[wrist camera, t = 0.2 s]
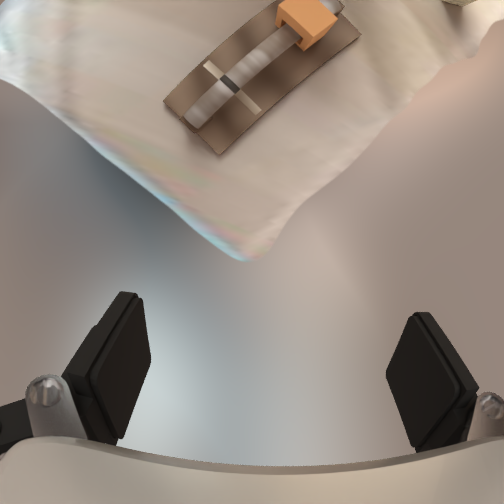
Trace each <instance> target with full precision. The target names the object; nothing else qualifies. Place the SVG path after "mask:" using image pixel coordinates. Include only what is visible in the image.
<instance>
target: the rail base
mask: <svg viewBox="0 0 504 504" xmlns="http://www.w3.org/2000/svg"><path fill="white" fill-rule="evenodd" d="M283 1H285V0H276V1H275V2H273V3H272V4H271V5H269V6H268V7H267V8H265V9H264V10H263V11H261V12H260V13H259V14H257V15H256V16H255V17H253V18H252V19H251V20H250V21H248V22H247V23H246V24H245V25H243V26H242V27H241V28H240V29H238V30H237V31H236V32H235V33H234V34H232V35H231V36H230V37H229V38H228V39H227V40H225V41H224V42H223V43H222V44H221V45H220V46H219V47H217V48H216V49H215V50H214V51H213V52H212V53H211V54H210V55H209V56H207V57H206V58H205V59H204V60H203V61H202V62H201V63H200V64H199V65H198V66H197V67H196V68H195V69H194V70H193V71H192V72H191V73H190V74H189V75H188V76H187V77H186V78H185V79H184V80H183V81H182V82H181V83H180V84H179V85H178V86H177V87H176V88H175V89H174V90H173V91H172V92H171V93H170V94H169V95H168V96H167V97H166V98H165V99H164V100H163V102H164V103H165V104H166V105H168V106H169V107H170V108H171V109H172V110H173V111H174V112H175V113H176V114H177V115H178V116H179V117H180V120H181V121H182V122H183V123H184V124H185V125H186V126H187V127H188V128H189V129H190V130H191V131H192V132H193V133H197V134H198V135H199V136H200V137H201V138H202V139H203V140H204V141H205V142H206V143H207V144H208V145H209V146H210V147H212V148H213V149H214V150H215V151H216V152H217V153H218V154H219V155H220V154H221V153H222V152H223V151H224V150H225V149H226V148H227V147H228V146H229V145H231V144H232V143H233V142H234V141H235V140H236V139H237V138H238V137H239V136H240V135H241V134H242V133H243V132H244V131H245V130H246V129H248V128H249V127H250V126H251V125H252V124H253V123H254V122H255V121H256V120H257V119H259V118H260V117H261V116H262V115H263V114H264V113H265V112H266V111H267V110H269V109H270V108H271V107H272V106H273V105H274V104H275V103H277V102H278V101H279V100H280V99H281V98H282V97H283V96H285V95H286V94H287V93H288V92H289V91H290V90H292V89H293V88H294V87H295V86H296V85H298V84H299V83H300V82H301V81H302V80H304V79H305V78H306V77H307V76H308V75H310V74H311V73H312V72H313V71H315V70H316V69H317V68H318V67H320V66H321V65H322V64H323V63H325V62H326V61H327V60H328V59H330V58H331V57H332V56H334V55H335V54H336V53H338V52H339V51H340V50H341V49H343V48H344V47H345V46H347V45H348V44H349V43H351V42H352V41H353V40H355V39H356V38H358V37H359V36H360V35H362V34H361V33H360V32H359V31H358V30H357V29H356V28H355V27H354V26H353V25H352V24H351V23H350V22H349V21H348V20H347V19H346V18H345V17H344V16H343V15H342V14H341V13H340V12H341V11H342V10H343V8H344V7H345V6H344V5H343V4H342V3H340V2H339V1H338V0H319V1H320V2H321V3H322V4H323V5H324V6H325V7H326V8H327V9H328V10H329V11H331V12H332V13H333V14H334V15H335V16H336V17H337V18H338V20H337V21H336V22H335V23H334V25H333V26H332V27H331V28H330V29H329V31H328V32H327V33H326V34H325V35H324V36H323V37H322V38H320V39H319V40H318V41H316V42H315V43H314V44H313V45H311V46H310V47H309V48H307V49H306V50H305V51H303V50H302V49H301V48H300V47H299V46H298V45H297V44H296V43H295V42H297V41H298V40H299V39H301V38H302V37H301V36H300V35H299V34H298V33H297V32H296V31H295V30H294V29H293V28H292V27H291V26H289V25H288V24H287V23H286V24H285V25H283V26H282V27H281V28H278V27H277V26H276V25H275V22H276V16H277V10H278V5H279V4H280V3H282V2H283Z"/></svg>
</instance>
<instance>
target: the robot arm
mask: <svg viewBox="0 0 504 504" xmlns="http://www.w3.org/2000/svg"><path fill="white" fill-rule="evenodd" d="M150 363H151V353H150V347H149V341H148V335H147V328H146V321H145V313H144V306H143V300H142V298H138V295H137V294H136V293H131V292H123V291H121V292H119V294H118V295H117V296H116V298H115V299H114V301H113V302H112V304H111V305H110V307H109V308H108V309H107V311H106V312H105V314H104V315H103V317H102V318H101V320H100V321H99V323H98V324H97V325H95V326H94V327H93V328H92V329H91V330H90V332H89V333H88V335H87V336H86V338H85V339H84V341H83V343H82V344H81V346H80V347H79V349H78V350H77V352H76V353H75V355H74V356H73V358H72V359H71V361H70V363H69V364H68V366H67V367H66V369H65V371H64V372H63V374H62V376H61V377H59V376H57V375H51V374H48V375H42V376H40V377H37V378H35V379H34V380H33V381H31V383H30V384H29V385H28V387H27V389H26V393H25V399H22V400H19V401H16V402H13V403H10V404H7V405H4V406H1V407H0V504H504V400H503V399H502V398H501V397H500V396H499V395H497V394H495V393H492V392H483V393H481V394H480V395H479V396H477V394H476V392H477V391H478V389H479V386H478V385H477V383H476V381H475V380H474V378H473V377H472V375H471V373H470V372H469V370H468V368H467V367H466V365H465V364H464V362H463V361H462V359H461V358H460V356H459V354H458V353H457V351H456V350H455V348H454V347H453V345H452V344H451V342H450V341H449V339H448V338H447V336H446V335H445V334H444V332H443V331H442V329H441V328H440V326H439V325H438V324H437V322H436V321H435V319H434V318H433V316H432V315H431V314H430V313H429V312H415V313H414V314H413V315H412V316H410V317H409V318H408V321H407V324H406V326H405V328H404V330H403V333H402V335H401V338H400V341H399V343H398V345H397V347H396V350H395V352H394V354H393V356H392V358H391V361H390V363H389V365H388V368H387V370H386V379H387V381H388V384H389V386H390V389H391V392H392V394H393V397H394V399H395V402H396V405H397V408H398V410H399V413H400V416H401V419H402V421H403V424H404V427H405V430H406V433H407V436H408V439H409V441H410V444H411V446H412V447H415V450H416V453H415V454H410V455H405V456H399V457H393V458H387V459H380V460H374V461H365V462H356V463H347V464H335V465H319V466H250V465H234V464H222V463H212V462H211V463H210V462H203V461H195V460H187V459H181V458H175V457H169V456H162V455H157V454H151V453H146V452H141V451H136V450H132V449H127V448H123V447H118V446H116V444H117V441H118V438H119V439H123V437H124V435H125V432H126V429H127V427H128V424H129V420H130V418H131V415H132V412H133V409H134V407H135V404H136V401H137V399H138V396H139V393H140V391H141V388H142V385H143V383H144V380H145V377H146V375H147V372H148V369H149V367H150ZM105 443H106V444H105Z"/></svg>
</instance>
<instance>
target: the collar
mask: <svg viewBox="0 0 504 504" xmlns="http://www.w3.org/2000/svg"><path fill="white" fill-rule="evenodd" d="M337 20H338V18H337V17H336V16H335V15H334V14H333V13H332V12H331V11H329V10H328V9H327V8H326V7H325V6H324V5H323V4H322V3H321V2H320V1H319V0H285V1H283V2H282V3H280V4H279V5H278V10H277V16H276V22H275V25H276V26H277V27H278V28H281V27H282V26H283V25H285V24H286V23H287V24H288V25H289V26H291V27H292V28H293V29H294V30H295V31H296V32H297V33H298V34H299V35H300V36H301V37H302V38H301V39H299V40H298V41H297V42H295V43H296V44H297V45H298V46H299V47H300V48H301V49H302V50H303V51H305V50H306V49H307V48H309V47H310V46H311V45H313V44H314V43H315V42H316V41H318V40H319V39H320V38H322V37H323V36H324V35H325V34H326V33H327V32H328V31H329V29H330V28H331V27H332V26H333V25H334V23H335V22H336V21H337Z"/></svg>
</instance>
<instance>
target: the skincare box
mask: <svg viewBox="0 0 504 504" xmlns="http://www.w3.org/2000/svg"><path fill="white" fill-rule="evenodd" d="M442 1H444V2H448V3H451V4H455V5H459V6H465V5H467V4H469V3H472V2H474V1H476V0H442Z"/></svg>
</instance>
